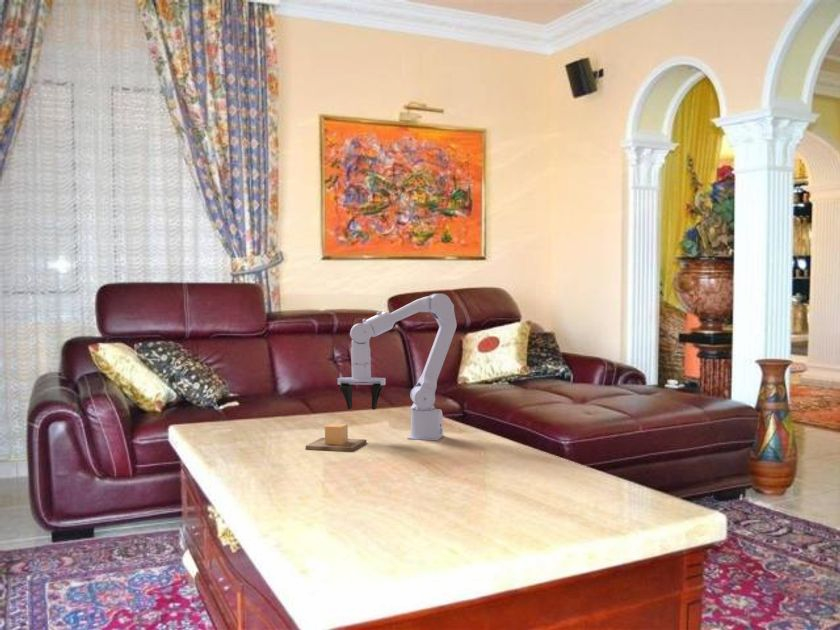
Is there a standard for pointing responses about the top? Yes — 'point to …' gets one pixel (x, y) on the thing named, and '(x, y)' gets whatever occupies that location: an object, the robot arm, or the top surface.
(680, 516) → the top surface
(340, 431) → the orange cube
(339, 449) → the brown rectangular slab
